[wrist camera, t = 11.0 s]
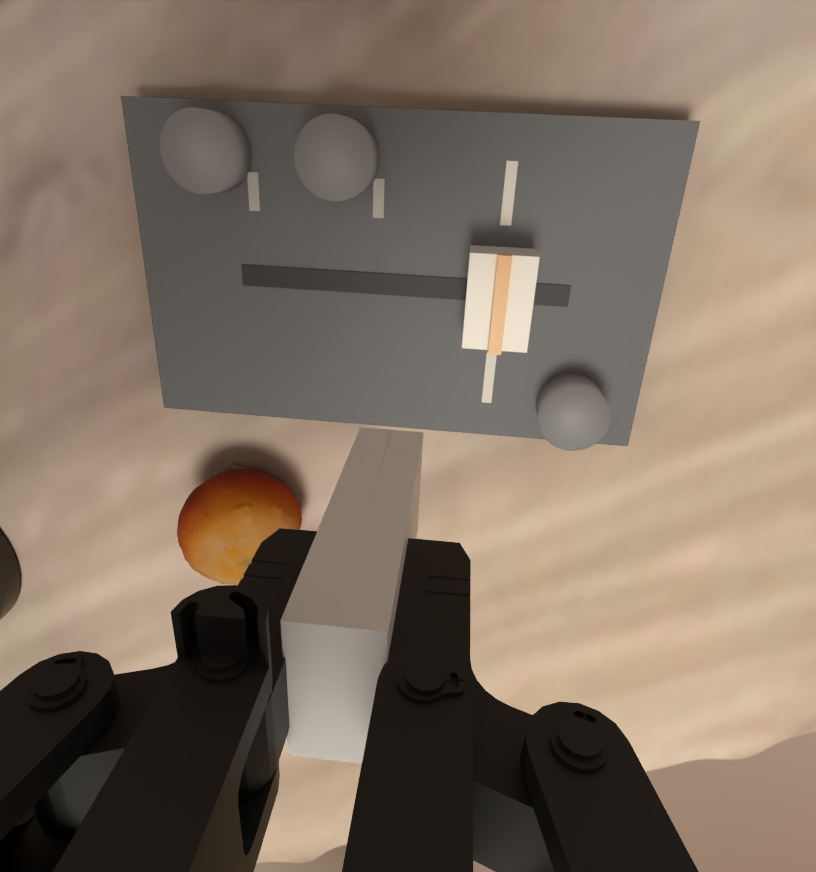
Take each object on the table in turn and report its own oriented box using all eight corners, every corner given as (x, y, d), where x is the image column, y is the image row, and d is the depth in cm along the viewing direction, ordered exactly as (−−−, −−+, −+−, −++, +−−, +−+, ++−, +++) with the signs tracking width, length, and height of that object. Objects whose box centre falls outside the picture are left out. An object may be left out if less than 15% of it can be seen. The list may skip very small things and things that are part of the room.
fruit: (203, 426, 41) (216, 513, 35) (302, 454, 46) (328, 535, 40) (154, 505, 44) (159, 596, 38) (252, 524, 49) (269, 608, 43)
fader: (462, 334, 35) (461, 352, 32) (470, 243, 33) (469, 253, 30) (522, 338, 35) (527, 357, 32) (534, 247, 33) (540, 257, 30)
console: (177, 396, 42) (146, 422, 38) (140, 99, 34) (95, 91, 30) (620, 432, 39) (636, 463, 35) (687, 123, 32) (717, 118, 28)
